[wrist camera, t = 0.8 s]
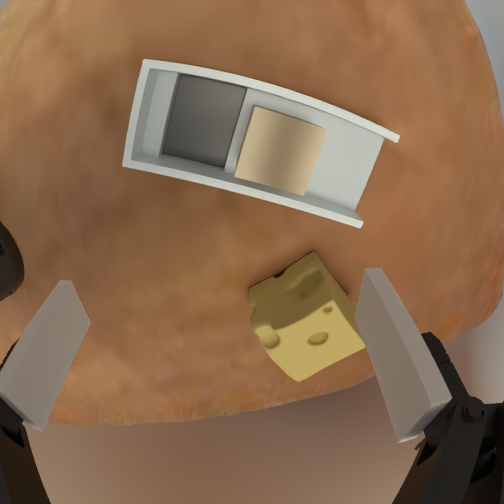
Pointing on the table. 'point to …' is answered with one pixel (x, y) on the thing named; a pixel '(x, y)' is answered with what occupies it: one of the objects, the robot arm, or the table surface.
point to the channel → (222, 128)
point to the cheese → (304, 318)
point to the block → (279, 150)
